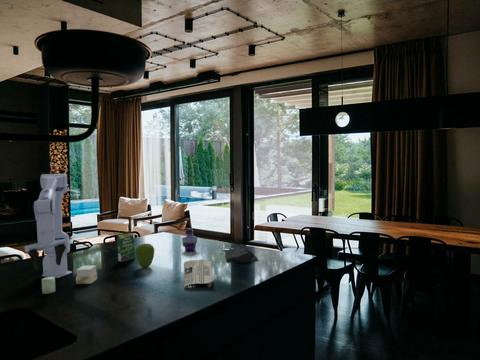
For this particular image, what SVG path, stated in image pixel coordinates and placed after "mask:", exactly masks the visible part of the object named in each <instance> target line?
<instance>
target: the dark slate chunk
mask: <svg viewBox="0 0 480 360" xmlns="http://www.w3.org/2000/svg"><path fill="white" fill-rule="evenodd" d="M224 253H225V255H224V257H225V263H229V264H235V263H238V264H241V263H250V262H251V263H252V262H253V263H254V262H258V261H259V259H258V257H257V256H256V255H255V253H254V252H253V251H252V250H251V249H250V247H248V246H243V245H238V246H235V247H233V248H230V249H228V250H226V251H225V252H224Z"/></svg>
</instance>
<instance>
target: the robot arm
mask: <svg viewBox="0 0 480 360" xmlns="http://www.w3.org/2000/svg"><path fill="white" fill-rule="evenodd" d="M39 183H40V187H41V189H42V190H41V191H40V193H39V196H38V199H37V200H35V201H34V202H33V212H34V216H35V217H34V219H35V220H36V232H37V233H36V234H37V235H36V236H37V243H32V244H29V245H23V246H24V252H26V253H27V254H28V256H29V258H30V259H31V262H32V263H33V267H34V270H40V264H39V262H40V261H39V259H40V252H39V251H38V250H42V249H43V253H44V255H45V256H44V257H43V259H42V269H43V270H42V271H43V272H42V273H43V274H42V275H41V277H45V278H46V277H55V279H56V278H57V279H58V278H61V277H64V276H67V275H70V274H72V273H73V271H71V270H68V258H67V257H68V255H67V254H68V253H69V252H70V250H71V241H70V236H69V234H67V233H66V232H64V231H63V196H64V194H66V193H67V192H68V176H67V174H66V173H65V172H63V173H50V174H49V173H46V174H45V173H42V174H41V175H40V181H39Z"/></svg>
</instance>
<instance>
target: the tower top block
mask: <svg viewBox="0 0 480 360" xmlns="http://www.w3.org/2000/svg"><path fill="white" fill-rule="evenodd" d="M96 272H97V265H94V264H93V265H92V264H91V265H82V266H80V267H78V268H77V269H76V277H91V276H92V275H94V274H95V273H96Z"/></svg>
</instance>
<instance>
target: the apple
mask: <svg viewBox="0 0 480 360" xmlns="http://www.w3.org/2000/svg"><path fill="white" fill-rule="evenodd" d="M154 257H155V248H154V246H153V244H151V243H142V244H138V245H137V246H136V248H135V259H136V261H137V263H138V265H139V266H140V267H141V269H148V268H149V267H150V266H151V265H152V263H153V259H154Z"/></svg>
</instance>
